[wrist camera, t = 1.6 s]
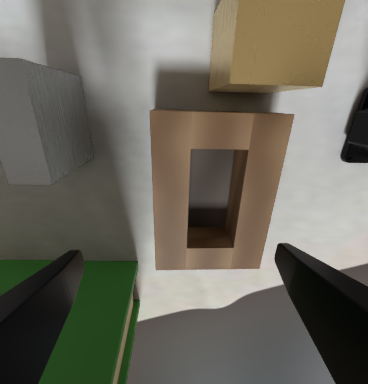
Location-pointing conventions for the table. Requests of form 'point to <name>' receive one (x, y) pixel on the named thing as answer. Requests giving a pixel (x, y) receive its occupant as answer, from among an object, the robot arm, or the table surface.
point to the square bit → (272, 44)
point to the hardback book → (89, 322)
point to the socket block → (214, 185)
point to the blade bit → (41, 123)
